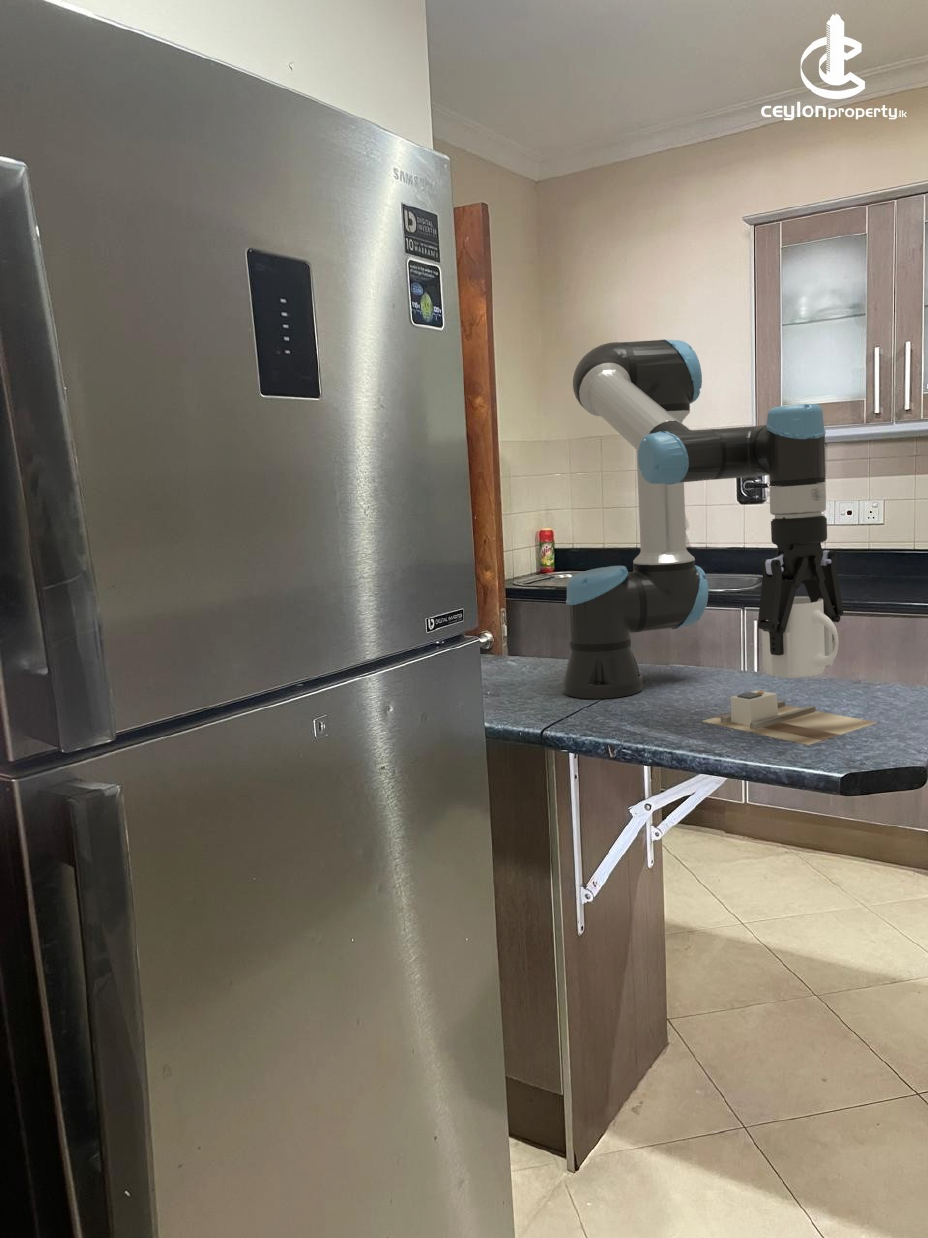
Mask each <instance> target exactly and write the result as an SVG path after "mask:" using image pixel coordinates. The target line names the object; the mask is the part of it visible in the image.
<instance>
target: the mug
mask: <svg viewBox="0 0 928 1238" xmlns="http://www.w3.org/2000/svg"><path fill="white" fill-rule="evenodd" d="M766 621H768V620H766ZM778 624H779V621H778ZM824 626H826V627H827V628H828V629H829V630H830V631H831V632H832V634H833V636H834V642H835V644H834V648H833V652H832V654H831V655H829V656H825V643H824ZM785 632H790V642H791V672H792V678H791V679H798V678H802V679H803V678H810V677H815V676H819V675H821V674H822V673H823V672H824V671H825V668H826V667H825V666H827V665H829V664H830V663H832V662H833V663H834V661H835V659H836V657H837V655H838V651H839V634H838V630H837V627H836V625H835V622H832V621H831V619H830V618H829V617H827V616H826V615H825V614H824V607H823V599H822V598H819V599H818V601H817V602H812V603H811V601H810V598H809V596H795V597H794V601H793V604H792V608H791V612H790V616H789V619H788V623H787V627H786V630H785ZM761 644H762V645H761V646H762V665H763V671H764V673H765V674H767V675H769V676H771V677H775V678H777V677H776V676H773V671H772V655H771V652H770V635H769V632H767V631H763V629H761Z"/></svg>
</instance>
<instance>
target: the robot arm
mask: <svg viewBox="0 0 928 1238" xmlns="http://www.w3.org/2000/svg"><path fill="white" fill-rule="evenodd" d="M700 363H701V362H700V360H699V358H698V354H697V353H696V351H695V350H694V349H693V348H692V346H691V345H690V344H689V343H687V342H686V341H683V340H679V339H676V340H675V339H674V340H673V339H655V340H654V339H653V340H641V341H639V340H637V341H623V342H622V341H621V342H619V341H618V342H617V341H616V342H615V341H614V342H607V343H603V344H600V345H599V346H598V345H597V347H594V348H592V349H591V350H590V351H589V352H587V353H585V355H584V356H583V357H582V358H581V359H580V360H579V362H578V364H577V365H576V368H575V369H574V372H573V377H572V390H573V394H574V397H575V399H576V400H577V402H578V403H579V405H580V406H581V407H582V408H583V409H584V410H585V411H586V412H588V413H589V414H591V415H593V416H596V417H601V418H602V419H604V421H606V422H607V423H608V424H609V425H610V426H611V428H613V429H614V430H615V431H616V432H617V433H618V434H619V435H621V436H622V438H623V439H625V441H627V442H628V444H630V445H631V446H632V447H633V448H634V449H635V450H636V468H637V470H636V471H637V493H638V496H637V497H638V515H639V516H638V520H639V540H640V541H639V542H640V543H639V544H640V552H639V554H638V555H637V556H636V557H635V558H634V559H633V560H632V561H633V563H632V565H633V566H632V567H633V571H628V569H627V566H625V565H610V566H605V567H604V566H603V567H597V568H592V569H589V570H588V569H587V570H585V571H582V572H578V573H576V574H573V576H571V577H570V578H569V579H568V580H567V583H566V600H565V603H566V608H567V621H568V636H569V638H568V639H569V650H570V651H569V657H568V661H567V665H566V670H565V675H564V678H563V682H562V687H563V688H562V689H563V694H565V695H567V696H569V697H573V698H578V699H579V698H580V699H594V700H595V699H597V700H598V699H600V700H601V699H614V698H621V697H626V696H627V697H628V696H631V695H635V694H638V693H639V692H642V691H643V689H644V685H643V676H642V673H640V670H639V666H638V663H637V660H636V658H635V656H634V652H633V650H632V636H631V635H632V634H634V633H642V632H649V631H659V630H668V629H672V630H677V629H679V628H682V627H683V628H684V627H687V626H692V625H694V624H696V623H698V622H699V620H700V619H701V617H703V615H704V613H705V611H706V609H707V604H708V599H709V584H708V579H706V577H707V576H706V573H705V571H704V570H703V568H702V567H700V566H698V565H696V559H695V556H693V555H692V554H691V553H690V552H689V551H688V549H687V535H686V534H687V531H686V506H685V505H686V502H685V500H686V499H685V483H691V482H701V481H703V482H704V481H711V480H712V481H713V480H715V481H716V480H728V479H729V480H730V479H740V478H745V479H746V478H747V479H748V478H758V477H765V476H769V477H768V478H769V513H770V515H772V516H774V518H772V520H771V521H770V533H771V543H772V544H774V545H776V548H777V549H776V555H775V557H774V558H771V559H770V558H769V559H767V558H766V559H763V558H762V560H761V563H760V567H761V574H762V579H761V580H762V581H761V588H760V589H761V590H760V599H759V610H758V620H757V628H758V629H759V630H762V629H763V631H767V632H769V635H770V652H771V655H772V671H773V676H772V677H775V676H776V677H775V678H782V679H783V678H784V679H793V678H792V672H791V642H790V632H785V630H786V627H787V623H788V619H789V616H790V612H791V608H792V604H793V601H794V597H796V593H797V589H798V588H800V587H801V585H802V584H804V587H805V590H806V592H807V596H808V597H809V598H810V601H811V603H812V602H817V601H818V599H819V598H822V599H823V607H824V614H825V615H826V616H827V617H829V618H830V619H831V621H832V622H833V623H840V621H841V617H842V616H843V614H844V605H843V599H842V594H841V587H840V581H839V575H838V568H837V563H838V562H837V560H838V553H837V551H836V550H823V548H822V543H823V542H824V543H825V542H826V541H827V539H828V525H827V524H828V519H827V517H826V516H825V515H823V514H822V513H823V512H825V511H826V510H827V500H826V499H827V498H826V495H827V494H826V428H825V425H824V410H823V408H822V407H821V405H819V404H816V403H801V404H789V405H782V406H776V407H773V408H771V409H770V410H768V412H767V419H766V424H762V425H753V426H740V427H739V426H738V427H726V428H725V427H724V428H709V429H708V428H707V429H690V428H689V427H687V426H686V425H684V424H683V421H684V420H685V419H686V418H687V416H688V415H689V414H690V413H691V406H690V404H693V403H694V402H696V401H697V399H698V398H699V397H700V394H701V389H702V385H703V384H702V383H703V377H702V376H703V375H702V374H703V372H702V368H701V367H702V366H701V364H700ZM766 620H768V621H766ZM778 621H779V624H778ZM834 641H835V638H834V636H833V634H832V632H831V631H830V630H829V629H828V628H827V627H826V626H824V643H825V656H829V655H831V654H832V652H833V651H834V648H833V647H834ZM833 667H834V661H833V662H832V663H830V664H829V665H827V666H825V668H828V669H830V668H833Z"/></svg>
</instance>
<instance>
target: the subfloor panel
mask: <svg viewBox="0 0 928 1238" xmlns="http://www.w3.org/2000/svg"><path fill="white" fill-rule="evenodd" d="M777 706H778V715H777V716H773V717H770V718H766V719H763V720H760V721H756V722H753V723H750V726H747V725H742V724H737V723H733V722H731V712H729V713H726V714H722V715H718V716H714V717H712V718H708V719H704V720H702V721H701V722H702V723H706V724H712V725H716V726H721V727H723V728H724V727H726V728H729V729H735V730H739V731H743V732H747V733H748V732H749V733H753V734H756V735H761V736H765V737H769V738H775V739H779V740H782V741H787V742H791V743H797V744H801V745H806V746H811V745H814V744H817V743H821V742H823V741H826V740H829V739H832V738H835V737H839V736H841V735H844V734H848V733H851V732H854V731H856V730H860V729H864V728H866V727H869V726H872V725H876V724H878V723H879V722H878V721H873V720H867V719H866V720H865V719H861V718H856V717H849V716H845V715H840V714H834V713H828V712H825V711H824V712H823V711H819V710H816V706H811V705H809V706H805V707H796V706H791V705H786V701H784V700H777Z"/></svg>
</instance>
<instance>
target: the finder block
mask: <svg viewBox="0 0 928 1238" xmlns="http://www.w3.org/2000/svg"><path fill="white" fill-rule="evenodd" d="M729 700H730V701H729V702H730V713H731V722H733V723H737V724H742V725H747V726H750V723H753V722H756V721H760V720H763V719H766V718H770V717H773V716H777V715H778V706H777V701H778V693H774V692H768V691H763V690H752V691H748V692H744V693H740V694H737V695H733V696H730V699H729Z"/></svg>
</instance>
